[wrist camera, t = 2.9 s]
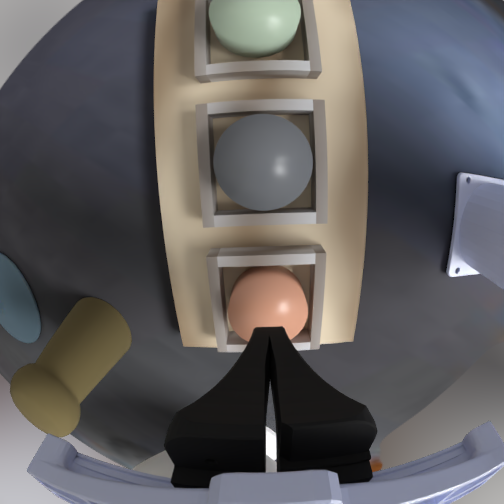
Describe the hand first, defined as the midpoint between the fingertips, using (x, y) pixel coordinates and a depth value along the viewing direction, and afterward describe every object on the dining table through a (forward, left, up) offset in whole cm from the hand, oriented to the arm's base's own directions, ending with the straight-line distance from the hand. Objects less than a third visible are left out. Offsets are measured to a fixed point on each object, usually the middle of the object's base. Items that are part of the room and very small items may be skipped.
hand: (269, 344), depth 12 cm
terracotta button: (0, 0, -5) cm, 5 cm away
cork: (+14, +4, -7) cm, 16 cm away
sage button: (0, -16, -4) cm, 16 cm away
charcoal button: (0, -8, -4) cm, 9 cm away
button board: (0, -8, -6) cm, 10 cm away
